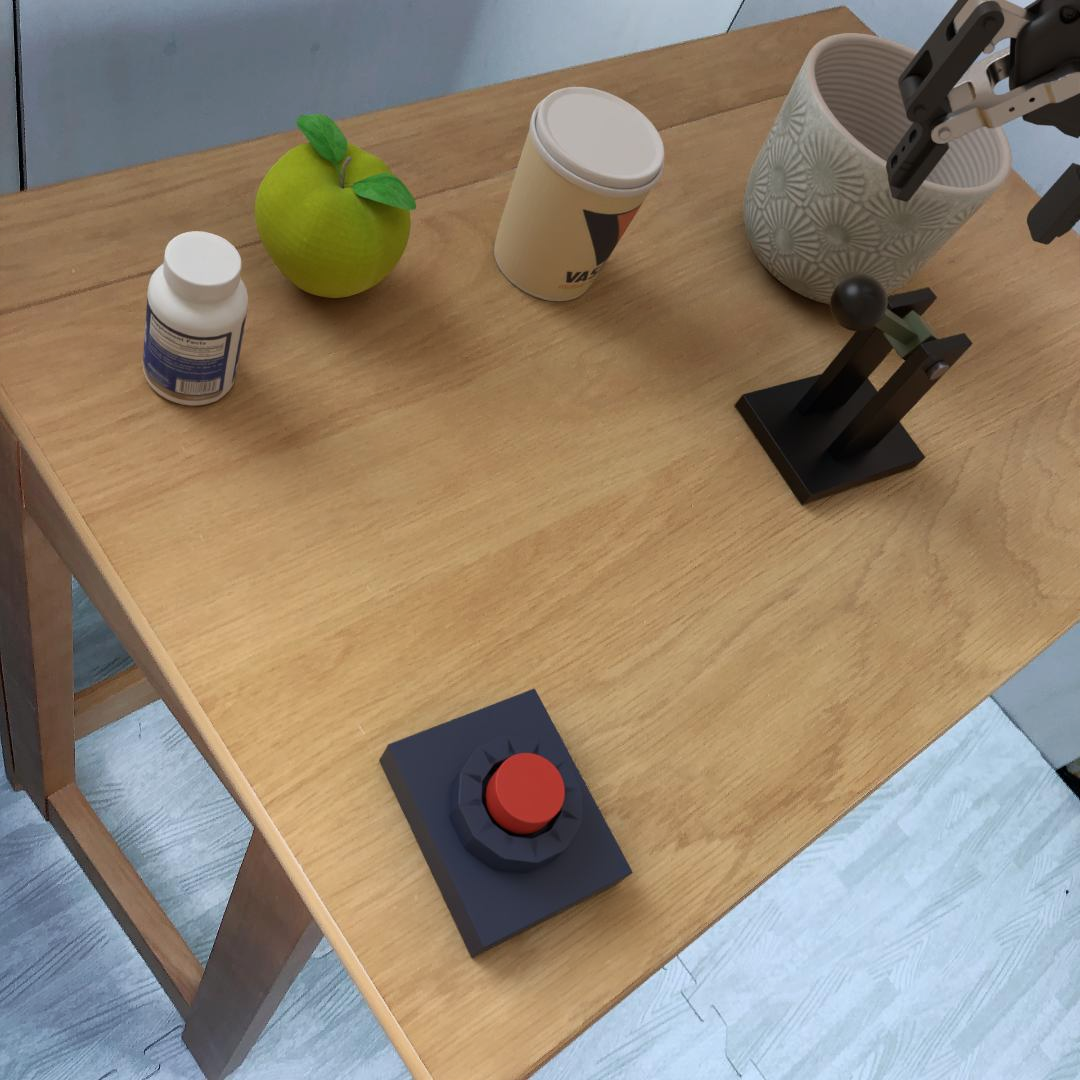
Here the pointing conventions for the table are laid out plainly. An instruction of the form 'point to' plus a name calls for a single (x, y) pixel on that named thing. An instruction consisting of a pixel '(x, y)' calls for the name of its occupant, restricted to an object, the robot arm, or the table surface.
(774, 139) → the planter
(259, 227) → the fruit
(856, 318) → the lever
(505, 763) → the button
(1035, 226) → the robot arm
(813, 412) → the bracket
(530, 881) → the button block
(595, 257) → the coffee cup
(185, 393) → the pill bottle
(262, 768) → the table surface
